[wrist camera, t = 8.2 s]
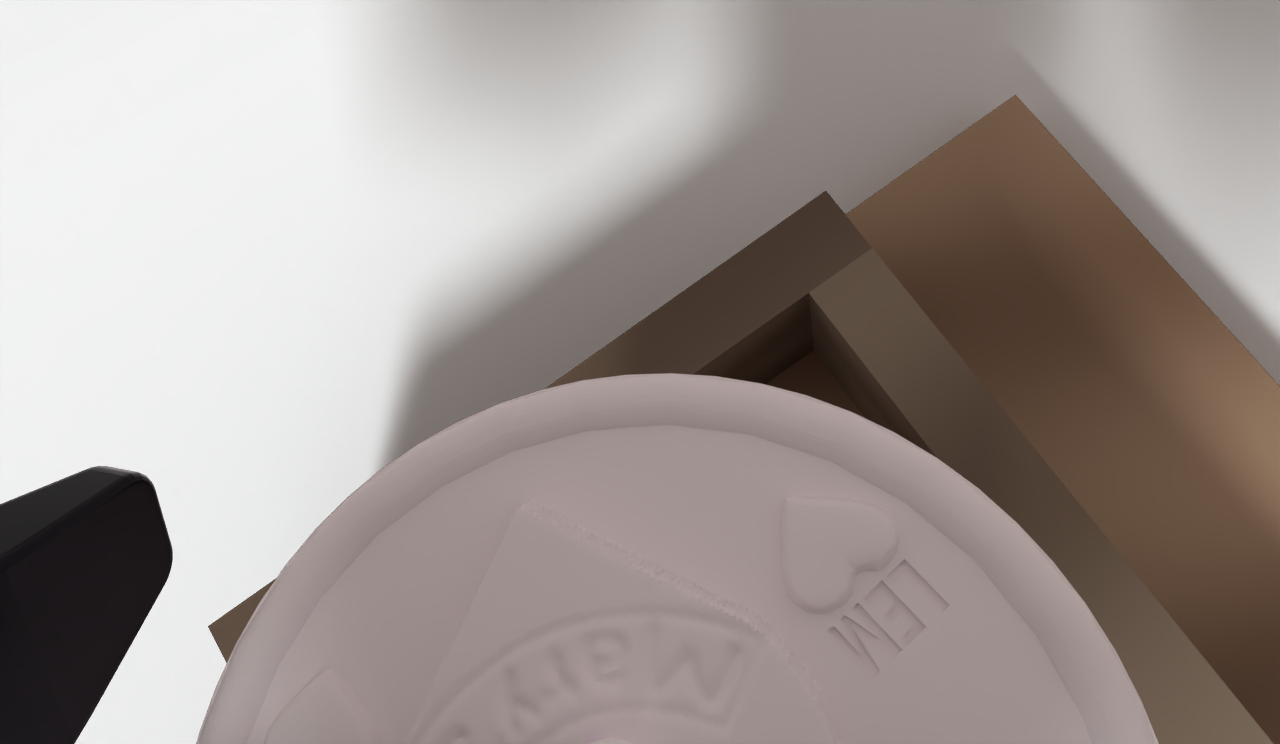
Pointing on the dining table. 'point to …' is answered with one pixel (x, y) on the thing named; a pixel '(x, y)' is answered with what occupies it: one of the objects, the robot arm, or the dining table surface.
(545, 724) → the smoothie
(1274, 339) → the dining table surface
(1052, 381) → the holder
